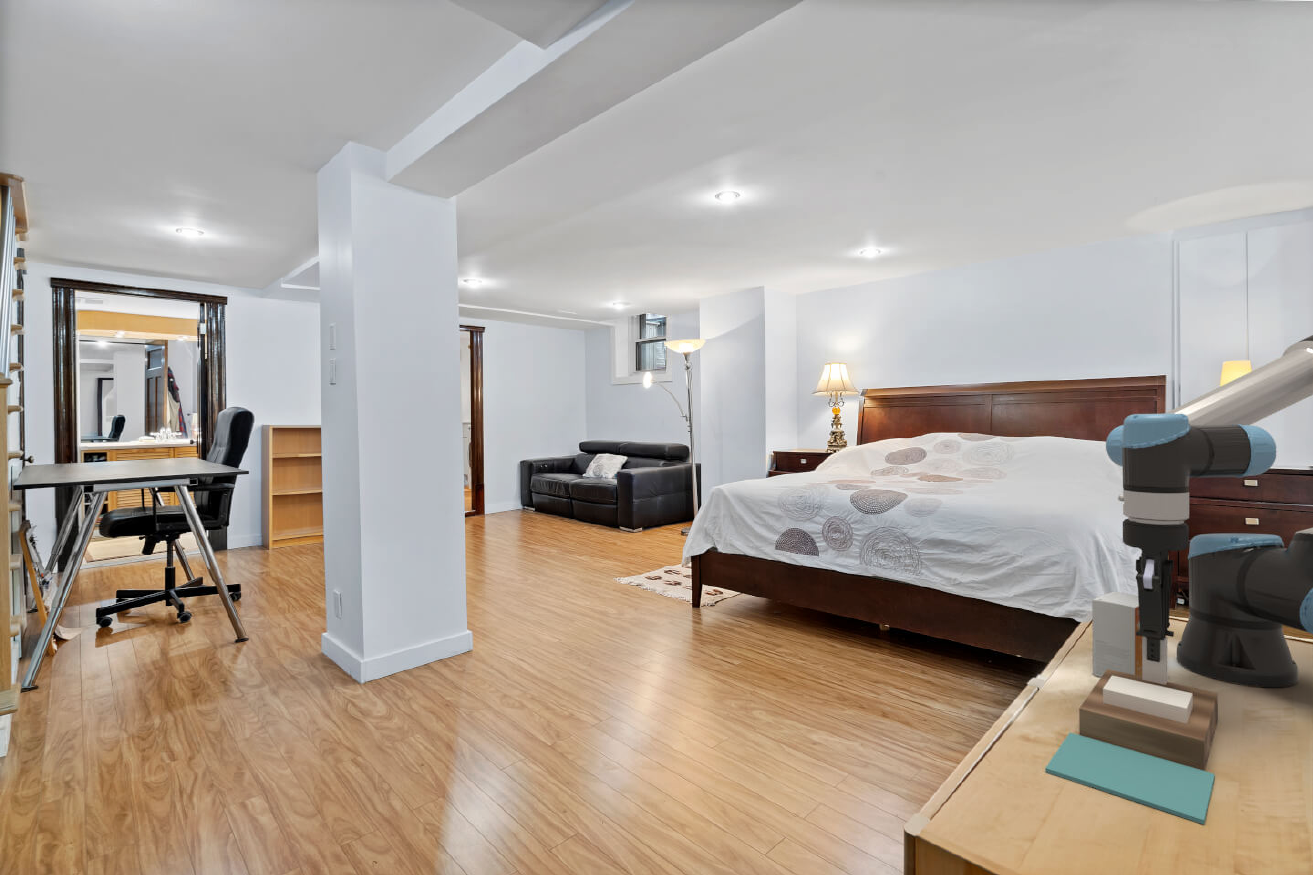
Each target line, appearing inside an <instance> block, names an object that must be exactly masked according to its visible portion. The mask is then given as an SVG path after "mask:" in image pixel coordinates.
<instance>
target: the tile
mask: <svg viewBox="0 0 1313 875" xmlns="http://www.w3.org/2000/svg"><path fill="white" fill-rule="evenodd" d="M1103 703H1106V704H1110V705H1114V706H1118V707H1122V708H1126V709H1130V710H1134V711H1138V712H1142V713H1146V714H1150V715H1154V716H1158V717H1162V718H1166V719H1170V720H1174V721H1178V722H1182V723H1186V724H1187V722H1188V720H1189V717H1190V714H1191V711H1192V708H1193V693H1189V692H1184V691H1180V690H1175V689H1171V688H1166V687H1162V686H1157V685H1153V684H1148V683H1144V682H1139V681H1135V680H1130V679H1126V678H1121V677H1117V676H1111V678H1110V679H1109V681H1108V682H1107V683H1106V685H1105V686H1104V688H1103Z"/></svg>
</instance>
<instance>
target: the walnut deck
mask: <svg viewBox="0 0 1313 875" xmlns="http://www.w3.org/2000/svg"><path fill="white" fill-rule="evenodd" d="M1111 676H1117V677H1121V678H1126V679H1130V680H1135V681H1139V682H1144V683H1148V684H1153V685H1157V686H1162V687H1166V688H1171V689H1175V690H1180V691H1184V692H1189V693H1193V708H1192V711H1191V714H1190V717H1189V720H1188V722H1187V724H1186V723H1182V722H1178V721H1174V720H1170V719H1166V718H1162V717H1158V716H1154V715H1150V714H1146V713H1142V712H1138V711H1134V710H1130V709H1126V708H1122V707H1118V706H1114V705H1110V704H1106V703H1103V688H1104V686H1105V685H1106V683H1107V682H1108V681H1109V679H1110V678H1111ZM1218 695H1219V694H1218V692H1215V691H1210V690H1206V689H1201V688H1197V687H1191V686H1188V685H1183V684H1177V683H1173V682H1169V681H1167V683H1166V685H1165V684H1160V683H1156V682H1151V681H1147V680H1142V676H1137V675H1133V674H1128V673H1124V672H1119V671H1114V670H1110V669H1107V670H1106V671H1105V673H1104V674H1103V676H1102V677H1100V678H1099V679H1098V681H1097V682H1096V683H1095V686H1094V687H1093V688H1092V690H1091V691H1090V693H1088V696H1086V698H1085V699H1084V701H1083V702H1082V704H1081V705H1080V706H1079V709H1078V711H1079V712H1078V713H1079V714H1078V716H1079V717H1078V721H1079V722H1078V724H1079V727H1078V728H1079V734H1078V735H1081V736H1085V737H1088V738H1092V739H1095V740H1099V741H1102V742H1105V743H1109V744H1112V745H1116V746H1119V747H1123V748H1126V749H1130V750H1133V751H1137V752H1140V753H1144V754H1147V755H1151V756H1154V757H1158V758H1161V759H1165V760H1168V761H1172V762H1175V763H1179V764H1182V765H1186V766H1189V767H1193V768H1196V769H1200V770H1203V771H1206V768H1207V764H1208V761H1209V757H1210V753H1211V749H1212V745H1213V740H1214V737H1215V734H1216V729H1217V725H1218V722H1219V721H1218V719H1219V714H1218V713H1219V709H1218V706H1219V703H1218V700H1219V698H1218Z"/></svg>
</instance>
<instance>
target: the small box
mask: <svg viewBox="0 0 1313 875" xmlns="http://www.w3.org/2000/svg"><path fill="white" fill-rule="evenodd" d="M1091 604H1092V605H1091V606H1092V609H1091V610H1092V612H1091V613H1092V620H1091V621H1092V623H1091V624H1092V627H1091V628H1092V672H1091V673H1092V675H1093V676H1096V677H1098V678H1099V677H1100V678H1101V677H1102V676H1103V674H1104V673H1105V671H1106V670H1107V669H1110V670H1114V671H1119V672H1124V673H1128V674H1133V675H1137V676H1142V636H1137V635H1136V631H1137V630H1139V629H1140V622H1139V601H1138V595H1135V594H1128V593H1124V592H1120V591H1114V590H1113V591H1111V592H1108V593H1105V594H1102V595H1100V596H1097V597H1096V598H1094V599H1092V603H1091Z"/></svg>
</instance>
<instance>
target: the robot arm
mask: <svg viewBox="0 0 1313 875" xmlns="http://www.w3.org/2000/svg"><path fill="white" fill-rule="evenodd" d="M1312 396H1313V334H1312V335H1310V336H1307V337H1306V338H1304V339H1303V338H1302V339H1301V340H1299V341H1297V342H1296V343H1295V342H1294V343H1293V344H1291V345H1290V346H1288V347H1287V348H1286V349H1285V350H1284V352H1283V353H1282V355H1281V357H1279V358H1276V359H1275V360H1273V361H1270V362H1268V363H1266V364H1264V365H1262V366H1260V367H1257V368H1255V369H1253V370H1252V371H1250V372H1248V373H1246V374H1243V375H1242V376H1241V375H1240V376H1239V377H1238V378H1235V379H1233V380H1231V381H1229V382H1227V383H1225V384H1223V385H1221V386H1218V387H1215V389H1212V390H1210V391H1209V392H1207V393H1204V394H1202V395H1200V396H1198V397H1196V398H1194V399H1192V400H1190V401H1187V402H1186V403H1184V404H1182V405H1179V406H1178V407H1176V408H1174V409H1171V410H1169V411H1167V412H1165V413H1134V414H1130V415H1128V416H1127V417H1125V419H1124V420H1123V424H1122V425H1119V426H1117V427H1115V428H1113V430H1111V431H1110V432H1109V434H1108V436H1107V438H1106V440H1105V441H1106V442H1105V450H1106V453H1107V455H1108V458H1109V459H1110V461H1111V462H1113V463H1114V464H1115V465H1117V466H1119V467H1122V489H1123V491H1122V494H1119V495H1118V496H1117V500H1118V501H1119V502H1123V504H1122V512H1123V515H1124V517H1126V518H1125V519H1124V520H1123V521H1122V542H1123V544H1124V545H1126V546H1128V547H1131V548H1134V549H1135V548H1137V549H1139V550H1141V554H1140V556H1139V557H1138V559H1135V571H1136V575H1135V580H1136V585H1137V596H1138V601H1139V622H1140V629H1139V630H1137V631H1136V635H1137V636H1142V680H1147V681H1151V682H1156V683H1160V684H1165V685H1166V683H1167V682H1168V637H1170V638H1171V637H1174V634H1175V632H1174V631H1172V630H1169V628H1170V626H1171V623H1170V609H1171V608H1170V607H1171V606H1170V604H1171V601H1170V600H1171V588H1172V585H1173V584H1172V582H1173V581H1172V580H1173V578H1172V572H1173V571H1174V570H1175V561H1174V560H1173V559H1169V552H1181V551H1185V550H1187V549H1188V548H1189V552H1188V555H1187V562H1188V563H1187V566H1188V567H1187V569H1188V572H1187V573H1188V601H1189V602H1188V606H1189V612H1188V613H1189V615H1188V616H1189V617H1188V620H1187V622H1186V625H1185V626H1184V629H1183V633H1182V635H1181V639H1180V641H1179V642H1178V643H1177V645H1176V661H1177V662H1178V664H1180V665H1181V666H1183V667H1185V668H1186V669H1188V670H1190V671H1192V672H1194V673H1196V674H1200V675H1203V676H1205V677H1208V678H1211V679H1214V680H1215V679H1216V680H1219V681H1224V682H1229V683H1234V684H1238V685H1244V686H1252V687H1258V688H1260V687H1261V688H1285V687H1291V686H1294V685H1297V683H1298V681H1299V672H1298V671H1299V669H1298V665H1297V663H1296V661H1295V660H1294V659H1293V657H1292V654H1291V651H1290V647H1289V645H1288V642H1287V640H1286V637H1285V634H1284V632H1283V626H1286V627H1289V628H1293V629H1296V630H1298V631H1302V632H1305V633H1308V634H1312V635H1313V527H1310V528H1307V529H1303V530H1298V531H1296V532H1295V533H1294V535H1293V537H1292V538H1291V541H1290V542H1289V544H1288V546H1287V548H1285V543H1284V542H1283V539H1282V537H1281V536H1280V535H1276V534H1270V533H1269V534H1268V533H1267V534H1266V533H1242V532H1241V533H1237V532H1236V533H1235V532H1234V533H1227V532H1226V533H1225V532H1224V533H1205V534H1203V533H1202V534H1198V535H1195V536H1193V537H1192V538H1191V539H1190V542H1189V525H1188V524H1187V523H1186V522H1185V521H1187V520H1188V519H1190V489H1189V488H1190V484H1189V483H1190V479H1195V478H1237V479H1241V478H1244V477H1250V476H1257V475H1258V476H1259V475H1261V474H1264V473H1266V472H1267V471H1268V470H1269V469H1271V467H1272V466H1273V465H1274V463H1275V461H1276V459H1277V444H1276V442H1275V439H1274V438H1273V436H1272V435H1271V433H1269V432H1268V431H1267V430H1266V429H1264V428H1262V427H1260V426H1257V425H1253V424H1255V423H1257V422H1260V421H1261V420H1263V419H1265V418H1268V417H1269V416H1272V415H1273V414H1276V413H1278V412H1280V411H1283V410H1284V409H1286V408H1288V407H1291V406H1293V405H1295V404H1296V403H1299V402H1301V401H1303V400H1305V399H1307V398H1309V397H1312Z"/></svg>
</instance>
